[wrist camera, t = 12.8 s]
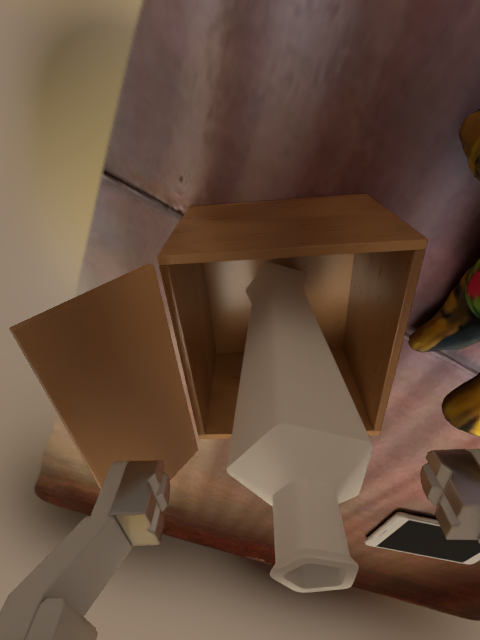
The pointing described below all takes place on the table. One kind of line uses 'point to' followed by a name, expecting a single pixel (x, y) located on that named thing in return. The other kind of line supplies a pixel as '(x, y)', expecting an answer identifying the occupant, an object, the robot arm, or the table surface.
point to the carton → (320, 289)
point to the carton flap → (113, 374)
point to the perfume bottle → (297, 434)
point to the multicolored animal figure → (459, 313)
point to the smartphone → (422, 539)
